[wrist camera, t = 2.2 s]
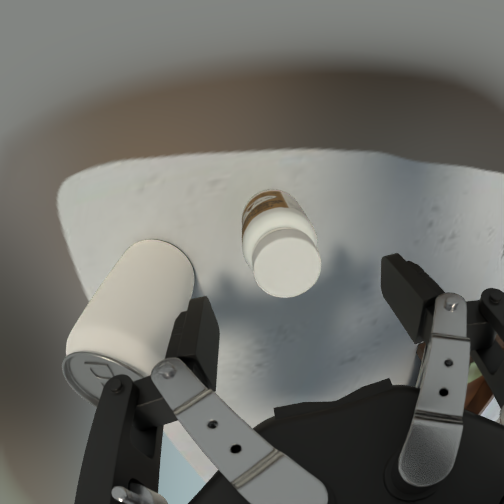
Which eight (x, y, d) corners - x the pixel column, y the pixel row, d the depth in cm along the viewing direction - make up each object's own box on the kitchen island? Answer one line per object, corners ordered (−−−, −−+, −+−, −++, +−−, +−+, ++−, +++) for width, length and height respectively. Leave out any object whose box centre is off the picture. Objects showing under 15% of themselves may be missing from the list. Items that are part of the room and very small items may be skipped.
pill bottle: (265, 176, 19) (279, 210, 12) (312, 210, 20) (347, 259, 14) (229, 224, 21) (225, 280, 14) (277, 254, 22) (293, 318, 15)
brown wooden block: (419, 341, 28) (452, 397, 20) (484, 312, 27) (520, 355, 19) (387, 435, 41) (399, 472, 32) (437, 413, 40) (452, 447, 32)
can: (134, 305, 24) (89, 415, 13) (113, 241, 21) (34, 342, 10) (202, 302, 24) (183, 425, 13) (187, 232, 21) (142, 349, 10)
